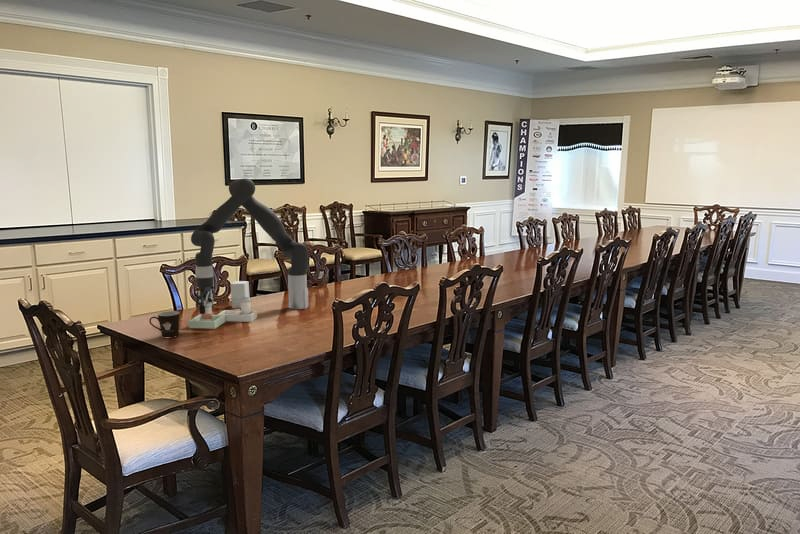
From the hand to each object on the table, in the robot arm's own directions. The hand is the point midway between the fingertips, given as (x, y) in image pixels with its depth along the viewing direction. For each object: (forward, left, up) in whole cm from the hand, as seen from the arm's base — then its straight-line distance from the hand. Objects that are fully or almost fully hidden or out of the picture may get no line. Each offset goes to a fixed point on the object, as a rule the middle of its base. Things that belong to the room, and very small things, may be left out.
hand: (206, 311), depth 276 cm
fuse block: (-10, -11, -7) cm, 16 cm away
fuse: (-14, -11, -6) cm, 19 cm away
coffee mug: (+11, +16, -7) cm, 21 cm away
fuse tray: (0, 0, -7) cm, 7 cm away
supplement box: (-1, -40, -7) cm, 41 cm away
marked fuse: (0, 0, -6) cm, 6 cm away
